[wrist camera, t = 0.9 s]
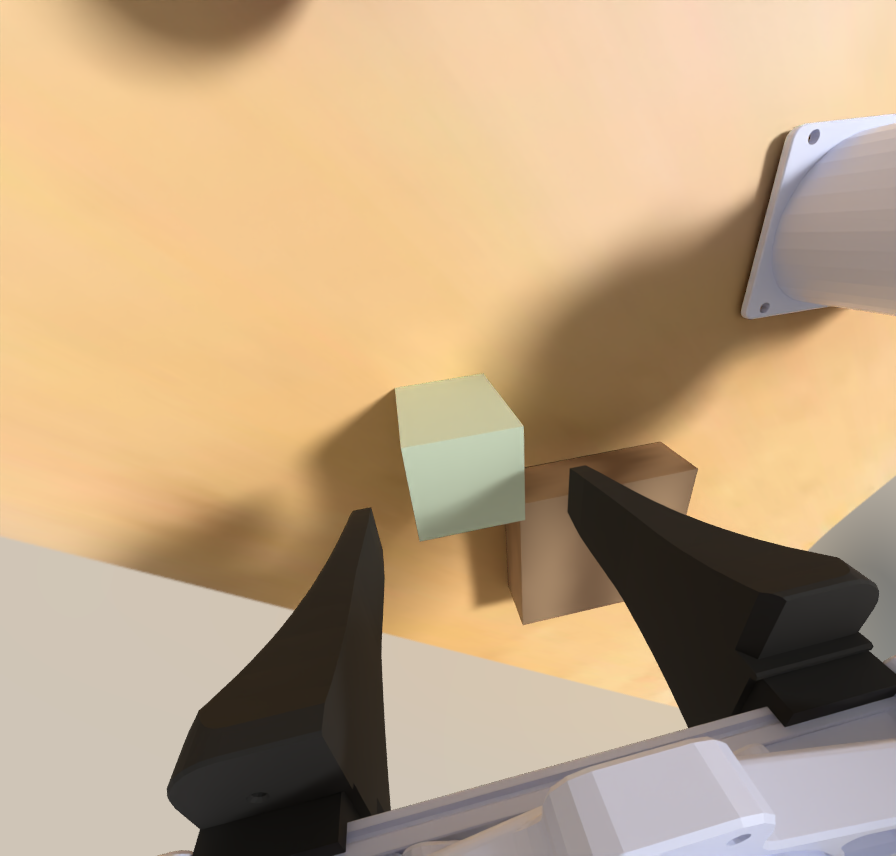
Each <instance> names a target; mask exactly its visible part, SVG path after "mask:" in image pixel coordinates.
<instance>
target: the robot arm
mask: <svg viewBox="0 0 896 856" xmlns="http://www.w3.org/2000/svg"><path fill="white" fill-rule="evenodd" d="M809 135H810V140H809V142H808V137H809ZM762 305H763V306H762ZM761 306H762V308H761ZM830 306H833V307H840V308H846V309H853V310H860V311H866V312H873V313H880V314H886V315H893V316H896V114H888V115H879V116H870V117H861V118H852V119H843V120H834V121H825V122H816V123H807V124H803V125H799V126H796V127H794V128H793V129H792V130H791V131H790V132H789V134H788V135H787V137H786V140H785V142H784V146H783V150H782V154H781V158H780V162H779V166H778V169H777V173H776V177H775V181H774V185H773V189H772V193H771V196H770V200H769V204H768V208H767V212H766V216H765V220H764V224H763V227H762V231H761V235H760V239H759V243H758V247H757V251H756V254H755V258H754V262H753V266H752V270H751V274H750V278H749V281H748V285H747V289H746V293H745V297H744V301H743V305H742V309H741V315H742V317H744V318H747V319H756V318H762V317H768V316H775V315H781V314H787V313H793V312H799V311H805V310H811V309H818V308H824V307H830ZM760 308H761V309H760ZM567 512H568V514H569V516H570V518H571V520H572V522H573V524H574V526H575V528H576V530H577V532H578V534H579V536H580V537H581V539H582V540H583V542H584V543H585V545H586V546H587V548H588V549H589V550H590V552H591V553H592V555H593V556H594V558H595V559H596V561H597V562H598V563H599V565H600V566H601V568H602V569H603V571H604V572H605V573H606V575H607V576H608V578H609V579H610V581H611V582H612V583H613V585H614V586H615V588H616V589H617V591H618V592H619V594H620V596H621V597H622V599H623V600H624V602H625V604H626V606H627V607H628V609H629V611H630V613H631V615H632V616H633V618H634V620H635V622H636V623H637V625H638V627H639V629H640V631H641V633H642V635H643V636H644V638H645V640H646V642H647V644H648V646H649V648H650V650H651V652H652V653H653V655H654V657H655V659H656V661H657V663H658V665H659V667H660V669H661V671H662V673H663V675H664V677H665V679H666V681H667V683H668V686H669V688H670V690H671V692H672V694H673V696H674V698H675V700H676V702H677V705H678V707H679V709H680V711H681V713H682V715H683V717H684V720H685V722H686V724H687V726H688V728H687V729H684V730H681V731H676V732H673V733H669V734H666V735H662V736H659V737H655V738H651V739H648V740H644V741H641V742H637V743H633V744H629V745H626V746H622V747H619V748H615V749H611V750H608V751H604V752H601V753H597V754H593V755H590V756H586V757H583V758H580V759H575V760H572V761H568V762H565V763H561V764H557V765H554V766H550V767H546V768H543V769H539V770H536V771H532V772H528V773H525V774H521V775H518V776H514V777H510V778H507V779H503V780H499V781H496V782H492V783H489V784H486V785H481V786H478V787H474V788H471V789H467V790H464V791H460V792H456V793H453V794H449V795H445V796H442V797H438V798H435V799H431V800H428V801H424V802H420V803H416V804H413V805H409V806H406V807H402V808H399V809H395V810H391V807H390V795H389V782H388V769H387V753H386V737H385V721H384V703H383V682H382V659H381V647H382V646H381V642H382V623H383V603H384V580H385V577H384V561H383V550H382V546H381V542H380V539H379V535H378V531H377V528H376V524H375V520H374V517H373V513H372V509H371V508H365V509H360V510H355V511H353V512H352V513H351V515H350V517H349V519H348V522H347V524H346V526H345V528H344V530H343V532H342V534H341V536H340V538H339V540H338V542H337V544H336V546H335V548H334V550H333V552H332V554H331V555H330V557H329V559H328V561H327V563H326V564H325V566H324V567H323V569H322V571H321V572H320V574H319V576H318V577H317V579H316V581H315V582H314V584H313V585H312V587H311V588H310V590H309V591H308V593H307V594H306V596H305V597H304V598H303V600H302V601H301V603H300V604H299V605H298V607H297V608H296V609H295V611H294V612H293V613H292V615H291V616H290V617H289V618H288V620H287V621H286V622H285V623H284V625H283V626H282V627H281V628H280V630H279V631H278V632H277V633H276V634H275V636H274V637H273V638H272V639H271V640H270V641H269V642H268V644H267V645H266V646H265V647H264V648H263V649H262V650H261V651H260V652H259V653H258V654H257V655H256V657H254V659H253V660H252V661H251V662H250V663H249V664H248V665H247V666H246V667H245V668H244V669H243V670H242V671H241V672H240V673H239V674H238V675H237V676H236V677H235V678H234V679H233V680H232V681H231V682H229V683H228V684H227V685H226V686H225V687H224V688H223V689H222V690H221V691H220V692H219V693H218V694H217V695H216V696H214V697H213V698H212V699H211V700H210V701H209V702H208V703H207V704H206V705H205V706H204V707H202V708H201V709H200V710H199V711H198V714H197V716H196V718H195V720H194V722H193V724H192V726H191V729H190V730H189V733H188V735H187V738H186V740H185V743H184V745H183V748H182V750H181V753H180V755H179V758H178V761H177V763H176V766H175V769H174V771H173V774H172V776H171V779H170V782H169V784H168V787H167V796H168V799H169V801H170V802H171V804H172V805H173V806H174V808H175V809H176V810H178V811H179V812H180V813H181V814H182V815H184V816H185V817H186V818H187V819H188V820H190V821H191V822H192V823H193V824H194V825H196V826H197V827H198V828H199V829H200V832H199V835H198V838H197V842H196V845H195V848H194V852H192V851H183V850H181V851H174V852H169V853H166V854H162V855H158V856H896V655H895V656H892V657H890V658H888V659H887V660H885V661H884V662H881V661H880V660H879V659H878V658H877V657H875V656H874V655H873V654H872V653H871V652H869V650H871V649H872V648H873V645H872V643H871V642H870V641H869V640H868V639H867V638H865V637H864V636H863V635H861V634H860V633H859V632H858V631H859V630H860V628H861V627H862V626H863V624H864V623H865V621H866V620H867V618H868V617H869V615H870V614H871V612H872V611H873V609H874V607H875V605H876V604H877V602H878V597H879V590H878V588H877V585H876V584H875V583H874V582H872V581H871V580H869V579H868V578H867V577H865V576H864V575H862V574H861V573H860V572H858V571H857V570H855V569H854V568H852V567H851V566H849V565H848V564H847V563H845V562H844V561H842V560H841V559H839V558H837V557H833V556H828V555H823V554H818V553H813V552H809V551H804V550H799V549H794V548H790V547H785V546H781V545H778V544H774V543H770V542H766V541H762V540H758V539H755V538H751V537H748V536H744V535H741V534H738V533H735V532H732V531H729V530H725V529H722V528H719V527H716V526H713V525H711V524H708V523H705V522H702V521H700V520H697V519H695V518H692V517H690V516H687V515H684V514H682V513H680V512H677V511H675V510H673V509H670V508H668V507H666V506H664V505H662V504H660V503H657V502H655V501H653V500H651V499H649V498H647V497H645V496H643V495H641V494H639V493H637V492H635V491H633V490H631V489H629V488H628V487H626V486H624V485H622V484H620V483H618V482H616V481H615V480H613V479H611V478H609V477H607V476H606V475H604V474H602V473H600V472H598V471H596V470H594V469H592V468H590V467H588V466H586V465H584V466H579V467H574V468H570V472H569V490H568V509H567Z"/></svg>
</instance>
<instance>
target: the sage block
mask: <svg viewBox="0 0 896 856" xmlns="http://www.w3.org/2000/svg"><path fill="white" fill-rule="evenodd" d="M395 395H396V405H397V415H398V425H399V435H400V445H401V452H402V456H403V461H404V466H405V471H406V476H407V481H408V486H409V491H410V496H411V501H412V506H413V511H414V516H415V521H416V526H417V531H418V536H419V540H420V541H425V540H430V539H435V538H440V537H444V536H449V535H454V534H459V533H464V532H469V531H474V530H479V529H483V528H488V527H493V526H498V525H503V524H508V523H513V522H518V521H522V520H525V475H524V426H523V425H522V423H521V422H520V421H519V419H518V418H517V417H516V415H515V414H514V413H513V412H512V410H511V409H510V408H509V406H508V405H507V404H506V402H505V401H504V400H503V399H502V397H501V396H500V395H499V393H498V392H497V391H496V389H495V388H494V387H493V386H492V384H491V383H490V382H489V380H488V379H487V378H486V376H485V375H484V374H477V375H471V376H464V377H458V378H452V379H446V380H440V381H434V382H428V383H422V384H416V385H410V386H404V387H398V388H395Z"/></svg>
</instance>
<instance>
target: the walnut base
mask: <svg viewBox="0 0 896 856" xmlns="http://www.w3.org/2000/svg"><path fill="white" fill-rule="evenodd" d="M584 465H586V466H588V467H590V468H592V469H594V470H596V471H598V472H600V473H602V474H604V475H606V476H607V477H609V478H611V479H613V480H615V481H616V482H618V483H620V484H622V485H624V486H626V487H628V488H629V489H631V490H633V491H635V492H637V493H639V494H641V495H643V496H645V497H647V498H649V499H651V500H653V501H655V502H657V503H660V504H662V505H664V506H666V507H668V508H670V509H673V510H675V511H677V512H680V513H682V514H684V515H686V514H687V510H688V506H689V502H690V498H691V494H692V490H693V486H694V482H695V478H696V474H697V471H698V468H696V467H695V466H693V465H692V464H691V463H689V462H688V461H687V460H685V459H684V458H682V457H681V456H680V455H678V454H677V453H676V452H674V451H673V450H671V449H670V448H669V447H667V446H666V445H664V444H663V443H662V442H657V443H652V444H647V445H641V446H636V447H631V448H626V449H621V450H615V451H610V452H605V453H600V454H595V455H589V456H584V457H579V458H574V459H569V460H563V461H558V462H553V463H548V464H543V465H537V466H532V467H527V468H524V475H525V520H522V521H518V522H513V523H508V524H505V525H506V545H507V565H508V585H509V589H510V592H511V594H512V597H513V600H514V602H515V605H516V608H517V610H518V613H519V616H520V619H521V621H522V624H523V625H525V624H530V623H534V622H538V621H542V620H547V619H551V618H555V617H560V616H564V615H568V614H573V613H577V612H581V611H585V610H590V609H594V608H598V607H603V606H607V605H611V604H615V603H620V602H624V600H623V599H622V597H621V596H620V594H619V592H618V591H617V589H616V588H615V586H614V585H613V583H612V582H611V581H610V579H609V578H608V576H607V575H606V573H605V572H604V571H603V569H602V568H601V566H600V565H599V563H598V562H597V561H596V559H595V558H594V556H593V555H592V553H591V552H590V550H589V549H588V548H587V546H586V545H585V543H584V542H583V540H582V539H581V537H580V536H579V534H578V532H577V530H576V528H575V526H574V524H573V522H572V520H571V518H570V516H569V514H568V512H567V509H568V490H569V472H570V468H574V467H579V466H584Z"/></svg>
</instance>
